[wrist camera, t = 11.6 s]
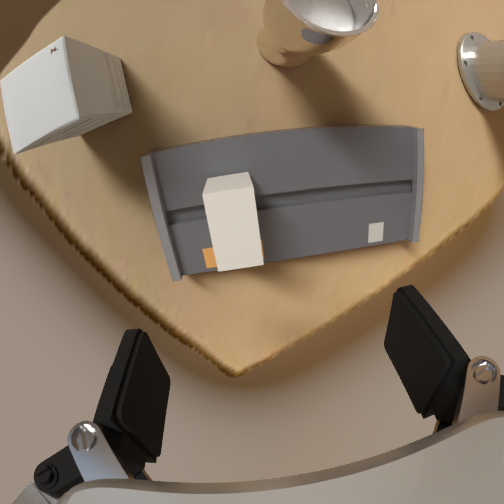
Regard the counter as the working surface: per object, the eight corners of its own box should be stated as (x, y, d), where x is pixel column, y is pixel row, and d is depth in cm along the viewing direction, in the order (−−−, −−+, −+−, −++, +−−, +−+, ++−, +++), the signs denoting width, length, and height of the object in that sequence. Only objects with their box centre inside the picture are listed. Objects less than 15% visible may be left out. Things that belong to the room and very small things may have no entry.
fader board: (405, 125, 29) (423, 128, 25) (402, 229, 35) (418, 241, 32) (150, 151, 29) (140, 157, 25) (177, 263, 35) (172, 281, 31)
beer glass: (314, 76, 26) (381, 52, 13) (249, 67, 25) (268, 25, 12) (318, 22, 23) (381, -29, 10) (255, 12, 22) (277, -57, 9)
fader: (247, 169, 28) (253, 186, 22) (256, 232, 32) (263, 264, 25) (208, 175, 28) (202, 194, 22) (219, 238, 32) (218, 271, 25)
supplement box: (67, 82, 23) (-3, 78, 12) (121, 56, 23) (65, 32, 12) (79, 137, 27) (11, 157, 15) (134, 115, 27) (80, 119, 15)
